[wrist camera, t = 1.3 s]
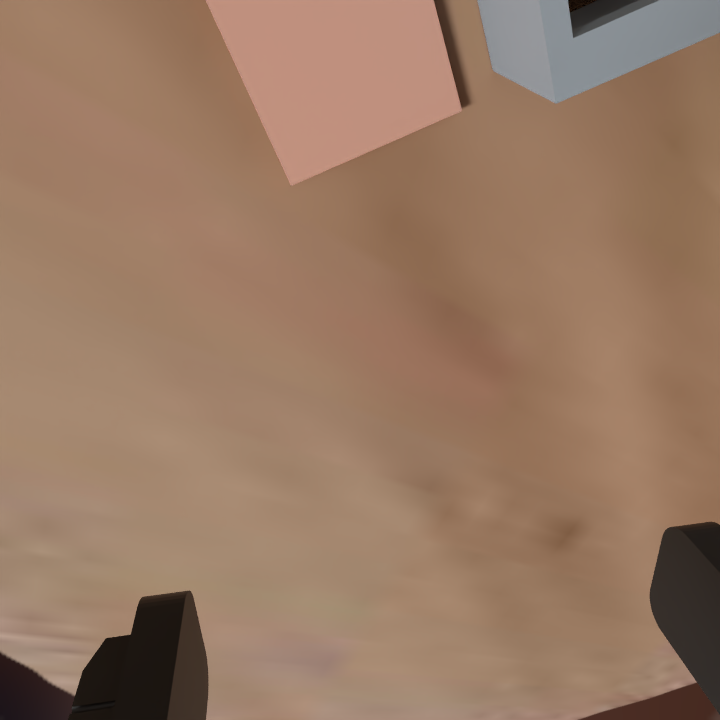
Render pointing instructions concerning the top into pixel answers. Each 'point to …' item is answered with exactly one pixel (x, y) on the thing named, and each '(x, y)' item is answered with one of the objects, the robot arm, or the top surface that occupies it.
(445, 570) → the top surface
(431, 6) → the terracotta mat
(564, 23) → the box
